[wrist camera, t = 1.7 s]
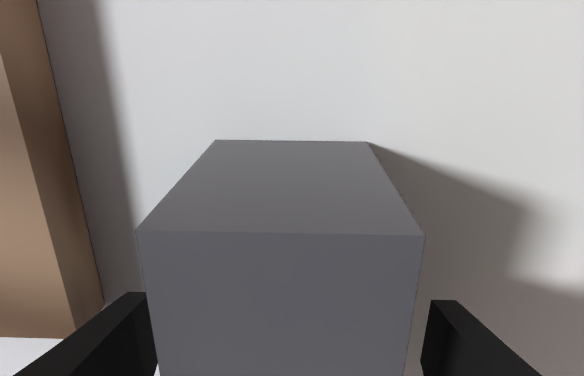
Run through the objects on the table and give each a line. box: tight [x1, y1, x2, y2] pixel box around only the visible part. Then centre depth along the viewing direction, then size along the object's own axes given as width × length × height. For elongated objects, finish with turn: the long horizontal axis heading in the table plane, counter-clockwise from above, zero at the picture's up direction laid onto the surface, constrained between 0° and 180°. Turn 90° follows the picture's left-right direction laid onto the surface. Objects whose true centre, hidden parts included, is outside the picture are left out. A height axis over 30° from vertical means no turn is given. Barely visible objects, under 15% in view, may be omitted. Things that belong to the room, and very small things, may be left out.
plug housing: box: [135, 140, 425, 376], centre depth 9 cm, size 9×4×5 cm, turn 0°
